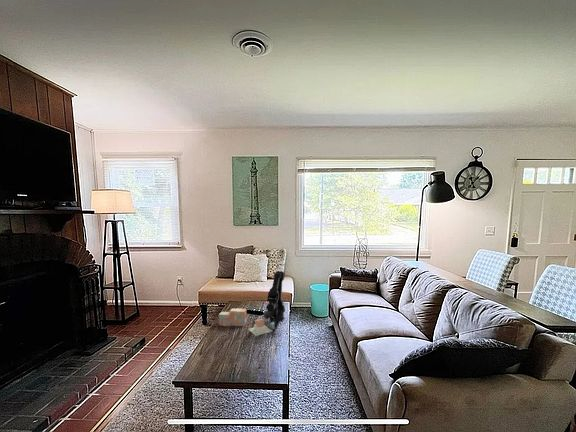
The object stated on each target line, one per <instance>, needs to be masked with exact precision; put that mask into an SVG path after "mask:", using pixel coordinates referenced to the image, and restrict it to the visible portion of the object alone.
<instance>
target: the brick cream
mask: <svg viewBox="0 0 576 432" xmlns="http://www.w3.org/2000/svg"><path fill="white" fill-rule="evenodd" d="M266 326H267V325H266V324H264V326H262V327H258V326H256V323H255V324H253V327H254V330H255V331H256V332H258V333H259V332H263V331H266Z"/></svg>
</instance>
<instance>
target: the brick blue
mask: <svg viewBox="0 0 576 432" xmlns="http://www.w3.org/2000/svg"><path fill="white" fill-rule="evenodd" d="M269 329H271V330H276V329H279V325H278V326H277V328H275V325H274V322H269Z"/></svg>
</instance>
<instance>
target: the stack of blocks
mask: <svg viewBox="0 0 576 432" xmlns="http://www.w3.org/2000/svg"><path fill="white" fill-rule="evenodd" d="M247 314H248V313H247V308H231V309H230V310H229V311H221V312H220V313H218V326H221V327H222V326H223V327H231V326H235V327H236V326H237V327H238V326H239V327H245V326H246V325H247V323H248V322H247V321H248V320H247V318H248V317H247Z"/></svg>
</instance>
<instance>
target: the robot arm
mask: <svg viewBox="0 0 576 432" xmlns="http://www.w3.org/2000/svg"><path fill="white" fill-rule="evenodd" d="M285 276H286V273H285V271H283V270H282V271H279V270H277V271H276V272H274V274H273V282H272V286H271V288H270V289H269V291H268V294H267V300H266V301H267V302H268V304H267V305H266V311H265V312H264V313H262V315H263V318H264V319H265V320H268V319H269V321H270V322H274V325H275V328H276V329H278V328H277V326H278V327H279V323H280V322H283V321H284V319H285V317H284V313H285V312H286V309H285V308H286V307H285V305H284V301H283V299H282V298H283V297H282V296H283V281H284V280H285ZM270 322H269V323H270Z"/></svg>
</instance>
